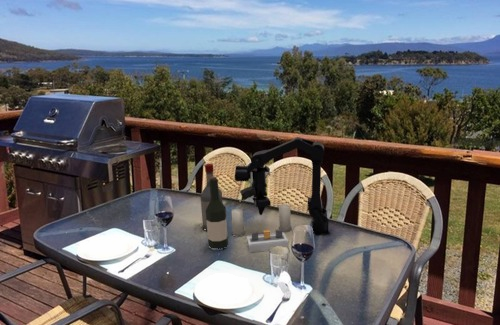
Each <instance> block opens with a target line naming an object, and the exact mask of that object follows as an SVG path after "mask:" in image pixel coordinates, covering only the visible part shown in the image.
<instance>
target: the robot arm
mask: <svg viewBox="0 0 500 325" xmlns="http://www.w3.org/2000/svg"><path fill="white" fill-rule="evenodd" d="M296 149H299V150H301V151H303V152H304V153H307V154H308V155H310V160H311V165H312V166H311V167H312V168H311V170H312V173H311V196H310V197H309V196H308V197H307V212H308V213H309V216H311V217H312V220H311V225H310V226H312V228H313V231H314V232H313V231H312V232H313V234H314V236H319V235H328V234H329V235H330V231H329V217H328V210H327V209H326V208H324V206H323V200H322V197H321V184H322V183H321V181H322V180H321V178H322V165H323V164H322V163H323V159H324V155H325V146H324V144H323V143H322V142H320V141H313V140H309V139H304V138H302V137H301V136H299V137H298V136H297V137H295V138H293V139H291V140H288V141H286V142H284V143H282V144H280V145H277V146H275V147H272V148H271V149H264V150H260V151H256V152H254V153H253V155H252V157H251V159H250V162H249V164H248V165H235V169H234V170H235V172H234V181H235V182H249V181H250V180H251V179H252V182H251V186H248V187H245V188H242V189H241V190H240V191H239V192H240V196H241V198H242V199H243V201H245V200H248V199H249V198H252V200H253V202H254V205H255V207H256V208H257V211H258V214H259V215H260V216H262V215H263V214H264V211H265V209H266V207H271V204H272V202H271V200H270V197H268V193H267V187H268V185H267V177H266V173H269V172H270V170H271V169H270V167H269V166H268V165H267V164H268V163H269V162H271V161H272V160H273V159H276V158H278V157H280V156H282V155H285V154H287V153H289V152H292V151H294V150H296Z"/></svg>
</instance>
